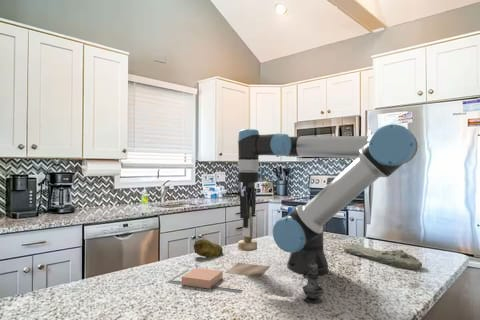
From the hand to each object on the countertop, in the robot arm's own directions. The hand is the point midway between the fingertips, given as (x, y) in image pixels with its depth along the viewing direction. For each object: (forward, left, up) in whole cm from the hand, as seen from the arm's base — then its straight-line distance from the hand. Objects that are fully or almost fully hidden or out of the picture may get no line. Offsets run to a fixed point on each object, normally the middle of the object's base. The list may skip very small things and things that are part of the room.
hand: (247, 235), depth 125 cm
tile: (+10, +12, -11) cm, 19 cm away
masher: (0, 0, -5) cm, 5 cm away
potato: (+22, -12, -14) cm, 28 cm away
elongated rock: (-46, -35, -14) cm, 60 cm away
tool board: (0, 0, -14) cm, 14 cm away
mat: (+8, +15, -14) cm, 22 cm away
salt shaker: (-26, +18, -14) cm, 35 cm away
